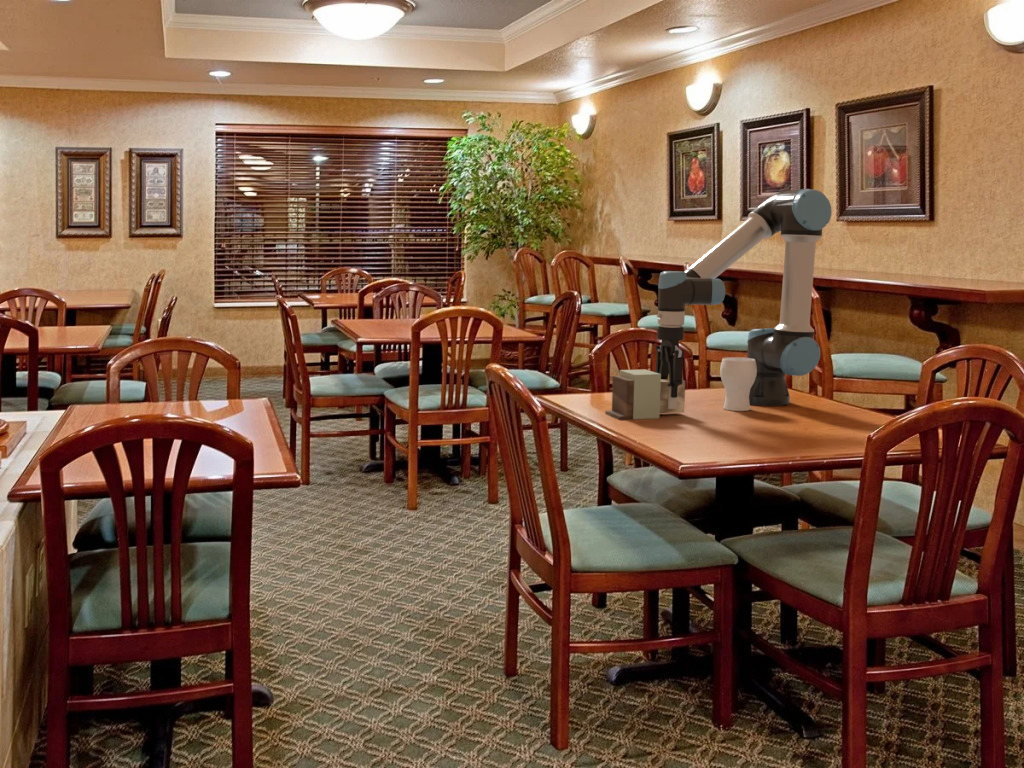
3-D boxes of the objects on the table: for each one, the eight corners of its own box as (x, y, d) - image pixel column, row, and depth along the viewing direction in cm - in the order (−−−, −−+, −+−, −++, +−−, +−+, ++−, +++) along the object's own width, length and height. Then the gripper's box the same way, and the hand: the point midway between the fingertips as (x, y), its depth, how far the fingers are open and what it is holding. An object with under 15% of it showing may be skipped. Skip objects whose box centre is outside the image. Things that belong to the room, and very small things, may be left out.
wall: (618, 413, 306) (619, 375, 304) (632, 419, 296) (633, 380, 295) (605, 414, 304) (606, 376, 303) (619, 420, 295) (620, 380, 293)
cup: (755, 412, 310) (757, 361, 308) (718, 411, 312) (720, 360, 310) (754, 407, 321) (756, 357, 318) (718, 405, 323) (720, 356, 321)
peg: (676, 409, 308) (677, 378, 307) (684, 412, 303) (685, 381, 302) (631, 411, 304) (632, 380, 303) (639, 414, 299) (640, 382, 298)
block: (643, 412, 308) (645, 369, 306) (659, 418, 298) (660, 374, 297) (618, 413, 306) (619, 370, 304) (633, 419, 296) (634, 374, 294)
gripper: (645, 323, 309) (642, 402, 312) (672, 329, 291) (669, 412, 295) (668, 323, 311) (665, 401, 314) (697, 328, 294) (694, 411, 297)
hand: (667, 406), depth 304 cm, fingers closed on peg, 5 cm apart
